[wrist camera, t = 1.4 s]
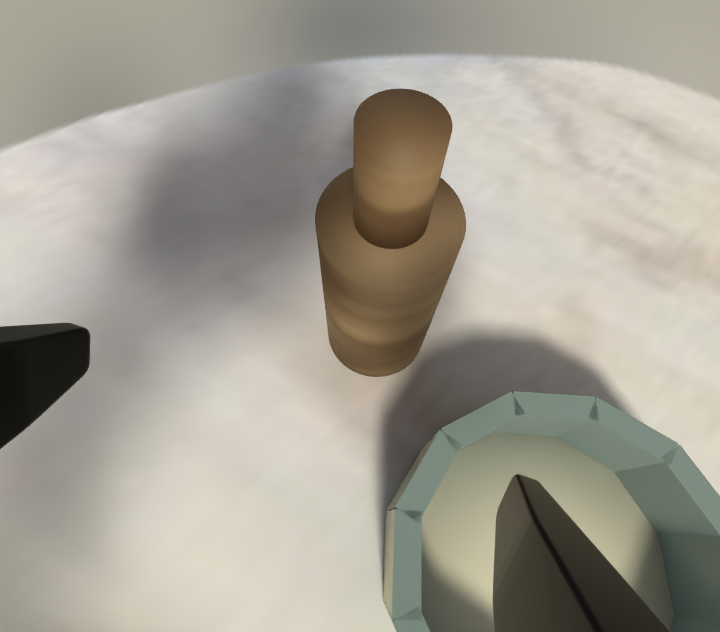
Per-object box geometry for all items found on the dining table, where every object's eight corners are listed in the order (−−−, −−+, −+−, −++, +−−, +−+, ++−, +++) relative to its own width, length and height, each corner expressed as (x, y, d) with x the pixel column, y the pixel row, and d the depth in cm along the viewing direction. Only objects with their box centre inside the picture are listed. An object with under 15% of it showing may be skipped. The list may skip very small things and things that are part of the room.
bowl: (747, 641, 19) (858, 674, 15) (489, 839, 16) (537, 947, 12) (558, 374, 24) (601, 343, 19) (335, 492, 21) (331, 485, 17)
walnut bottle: (440, 351, 24) (541, 157, 11) (354, 393, 23) (358, 231, 10) (394, 276, 26) (437, 38, 13) (313, 311, 25) (274, 89, 12)
